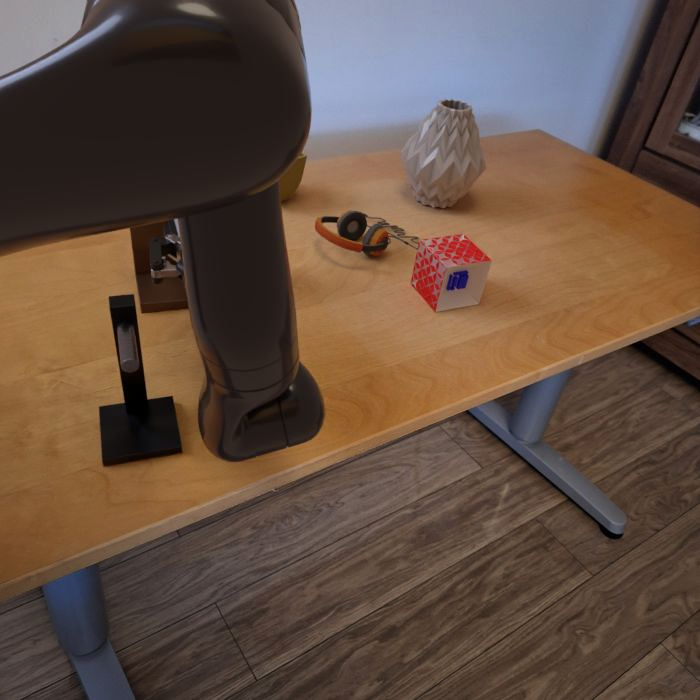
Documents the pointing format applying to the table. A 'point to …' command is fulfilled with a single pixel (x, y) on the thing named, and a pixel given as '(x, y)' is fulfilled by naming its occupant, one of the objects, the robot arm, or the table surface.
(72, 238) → the robot arm
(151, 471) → the table surface
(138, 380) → the holder
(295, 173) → the flower pot
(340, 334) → the table surface
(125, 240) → the table surface
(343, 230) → the headphones
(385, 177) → the table surface
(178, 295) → the rack
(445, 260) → the red patterned cube
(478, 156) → the vase
